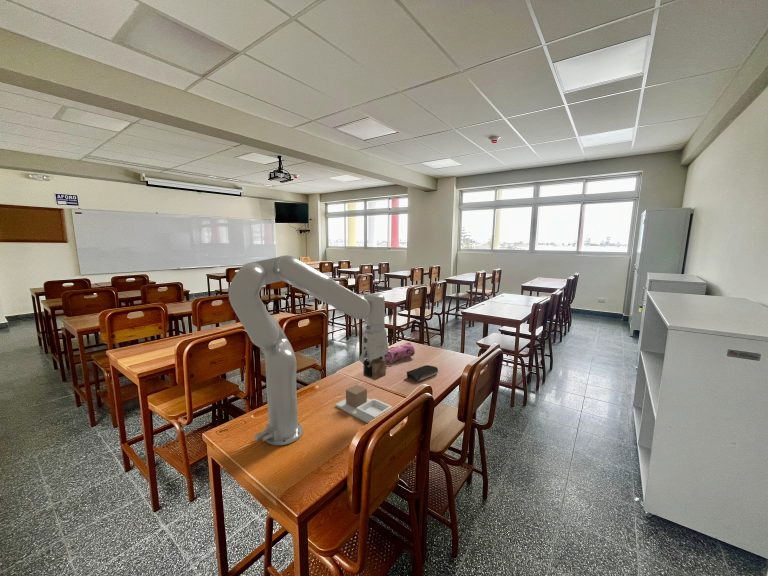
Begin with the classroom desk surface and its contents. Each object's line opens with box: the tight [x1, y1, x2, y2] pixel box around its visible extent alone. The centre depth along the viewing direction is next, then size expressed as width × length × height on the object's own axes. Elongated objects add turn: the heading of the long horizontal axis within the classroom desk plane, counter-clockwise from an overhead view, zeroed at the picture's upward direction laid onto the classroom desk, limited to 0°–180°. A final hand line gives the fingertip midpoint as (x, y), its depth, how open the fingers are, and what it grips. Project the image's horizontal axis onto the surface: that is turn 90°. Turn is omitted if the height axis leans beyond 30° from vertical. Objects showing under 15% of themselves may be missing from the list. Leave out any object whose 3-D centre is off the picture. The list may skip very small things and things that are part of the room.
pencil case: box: [385, 342, 416, 366], centre depth 174 cm, size 21×9×9 cm, turn 129°
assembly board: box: [335, 384, 394, 424], centre depth 122 cm, size 12×22×7 cm, turn 49°
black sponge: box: [406, 364, 439, 382], centre depth 154 cm, size 16×8×4 cm, turn 130°
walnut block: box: [362, 358, 387, 381], centre depth 116 cm, size 6×6×6 cm
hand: (374, 372), depth 117 cm, fingers closed on walnut block, 6 cm apart
